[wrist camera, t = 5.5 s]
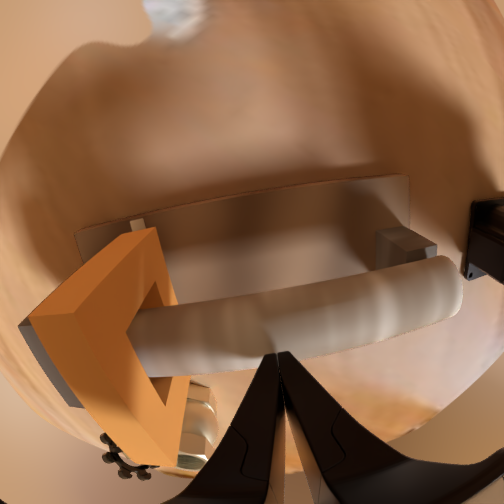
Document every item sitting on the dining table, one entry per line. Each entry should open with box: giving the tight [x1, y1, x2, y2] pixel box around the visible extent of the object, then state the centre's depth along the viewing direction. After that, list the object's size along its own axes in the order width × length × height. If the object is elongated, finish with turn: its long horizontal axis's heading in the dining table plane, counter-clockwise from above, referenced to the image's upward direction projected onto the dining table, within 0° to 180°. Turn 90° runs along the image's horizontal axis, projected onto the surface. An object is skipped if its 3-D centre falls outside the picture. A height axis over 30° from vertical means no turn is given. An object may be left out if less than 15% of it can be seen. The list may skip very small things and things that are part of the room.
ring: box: [28, 227, 191, 467], centre depth 11 cm, size 2×8×8 cm, turn 9°
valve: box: [100, 383, 219, 481], centre depth 18 cm, size 7×7×12 cm
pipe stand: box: [18, 174, 463, 408], centre depth 13 cm, size 20×9×8 cm, turn 99°
